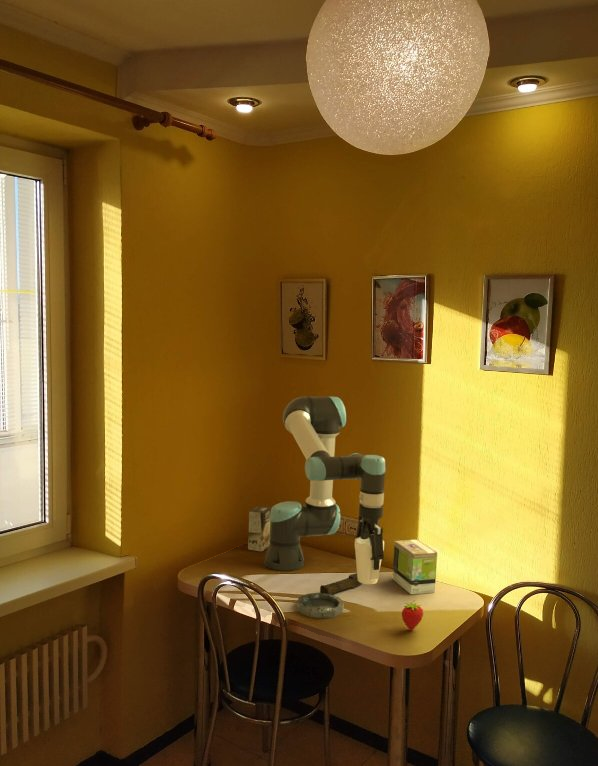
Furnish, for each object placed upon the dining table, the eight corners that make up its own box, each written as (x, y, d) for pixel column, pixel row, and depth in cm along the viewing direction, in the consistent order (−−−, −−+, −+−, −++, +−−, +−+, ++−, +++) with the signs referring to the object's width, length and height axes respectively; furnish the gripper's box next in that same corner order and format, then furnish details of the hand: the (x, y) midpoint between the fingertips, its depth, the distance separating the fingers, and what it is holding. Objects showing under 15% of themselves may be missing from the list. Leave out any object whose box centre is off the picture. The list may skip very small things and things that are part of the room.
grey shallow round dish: (291, 601, 234) (291, 595, 233) (333, 596, 238) (333, 591, 238) (305, 620, 219) (305, 614, 219) (350, 615, 224) (350, 609, 224)
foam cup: (388, 581, 224) (390, 542, 223) (369, 588, 218) (371, 548, 216) (365, 572, 231) (367, 534, 229) (346, 579, 225) (348, 540, 223)
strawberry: (426, 630, 215) (428, 599, 214) (411, 637, 210) (413, 605, 209) (411, 623, 219) (413, 593, 218) (396, 630, 214) (397, 599, 213)
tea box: (436, 592, 245) (438, 551, 243) (410, 595, 242) (412, 554, 240) (416, 576, 259) (418, 538, 257) (391, 579, 256) (393, 540, 254)
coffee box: (262, 552, 280) (263, 512, 278) (247, 549, 282) (248, 510, 280) (270, 544, 289) (271, 507, 287) (256, 542, 291) (257, 505, 289)
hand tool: (326, 599, 237) (327, 585, 236) (319, 595, 240) (319, 581, 239) (367, 587, 248) (368, 574, 248) (359, 583, 251) (360, 571, 251)
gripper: (347, 495, 231) (344, 560, 233) (374, 515, 210) (371, 587, 212) (368, 494, 233) (365, 559, 236) (397, 514, 212) (393, 585, 215)
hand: (367, 572), depth 224 cm, fingers closed on foam cup, 9 cm apart
